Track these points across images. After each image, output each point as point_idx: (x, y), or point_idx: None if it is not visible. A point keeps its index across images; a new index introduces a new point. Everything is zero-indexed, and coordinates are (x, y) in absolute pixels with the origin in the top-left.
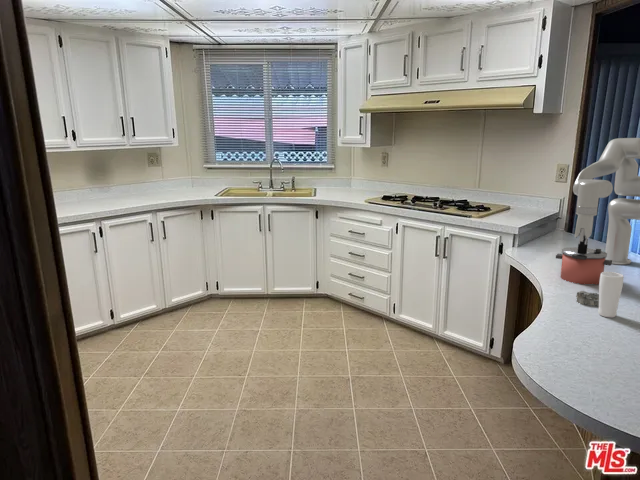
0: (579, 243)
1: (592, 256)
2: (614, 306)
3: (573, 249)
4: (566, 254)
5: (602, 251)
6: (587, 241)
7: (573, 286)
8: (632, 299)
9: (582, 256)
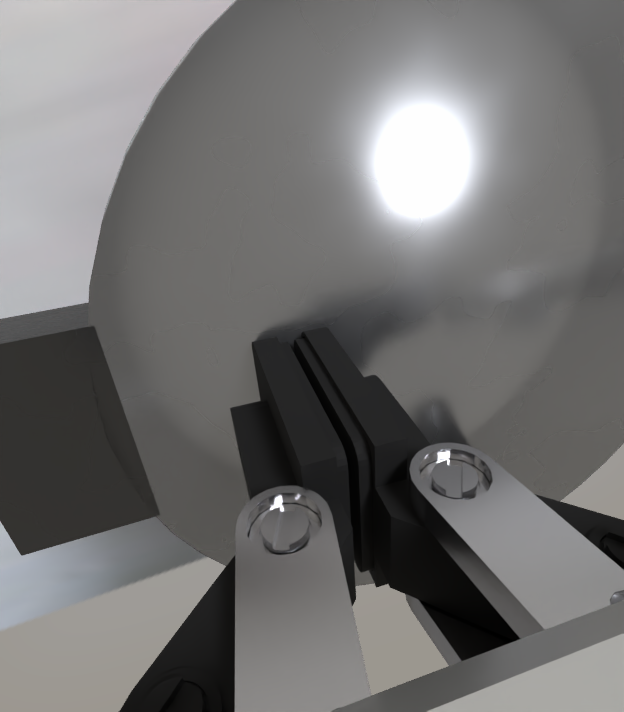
0: (239, 548)
1: (203, 548)
2: None
3: (565, 144)
4: (137, 132)
5: (584, 472)
6: (465, 623)
7: (15, 260)
8: (80, 594)
9: (7, 513)
